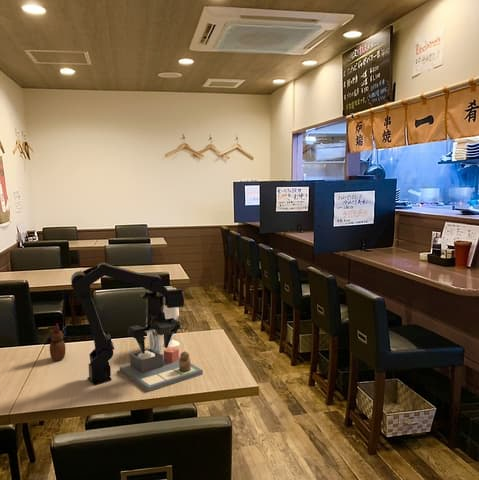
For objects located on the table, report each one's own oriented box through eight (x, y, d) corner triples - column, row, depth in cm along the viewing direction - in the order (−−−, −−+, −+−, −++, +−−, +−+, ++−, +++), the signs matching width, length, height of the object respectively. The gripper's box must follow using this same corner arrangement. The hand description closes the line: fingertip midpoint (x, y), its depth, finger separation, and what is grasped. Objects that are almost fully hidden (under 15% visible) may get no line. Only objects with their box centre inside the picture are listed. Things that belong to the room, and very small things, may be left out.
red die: (172, 362, 179) (172, 352, 178) (164, 360, 181) (163, 350, 180) (178, 359, 182) (178, 349, 181) (170, 357, 184) (170, 347, 183)
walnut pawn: (183, 373, 169) (182, 354, 168) (177, 369, 173) (177, 351, 172) (192, 370, 172) (192, 352, 171) (186, 366, 175) (186, 348, 174)
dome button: (142, 367, 171) (142, 355, 170) (134, 362, 176) (134, 350, 175) (158, 363, 175) (158, 351, 174) (150, 357, 180) (149, 346, 179)
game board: (148, 391, 159) (147, 374, 158) (119, 370, 176) (118, 354, 175) (202, 373, 172) (202, 358, 172) (171, 355, 189) (170, 341, 188)
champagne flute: (164, 347, 198) (163, 291, 195) (162, 341, 204) (161, 287, 201) (180, 346, 200) (179, 290, 196) (178, 340, 206) (177, 286, 203)
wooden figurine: (66, 361, 184) (64, 323, 182) (50, 363, 182) (48, 325, 180) (65, 354, 190) (63, 318, 188) (50, 357, 188) (48, 320, 186)
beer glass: (166, 349, 196) (165, 314, 194) (161, 356, 189) (160, 319, 187) (149, 348, 197) (148, 313, 194) (144, 355, 190) (143, 319, 188)
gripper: (141, 319, 159) (141, 363, 161) (188, 310, 171) (188, 351, 173) (126, 311, 168) (127, 353, 170) (172, 303, 179) (172, 342, 181)
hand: (154, 350), depth 173 cm, fingers open, 9 cm apart
